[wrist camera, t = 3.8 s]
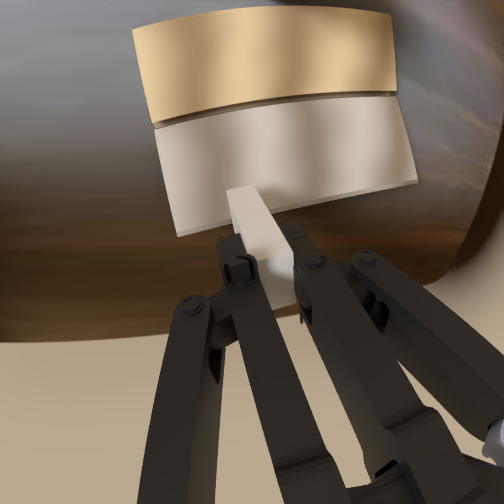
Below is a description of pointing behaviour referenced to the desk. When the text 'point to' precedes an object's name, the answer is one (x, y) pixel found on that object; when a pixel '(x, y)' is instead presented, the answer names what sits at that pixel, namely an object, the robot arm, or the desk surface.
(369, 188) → the plank
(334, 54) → the laid board
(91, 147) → the desk surface
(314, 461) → the robot arm
